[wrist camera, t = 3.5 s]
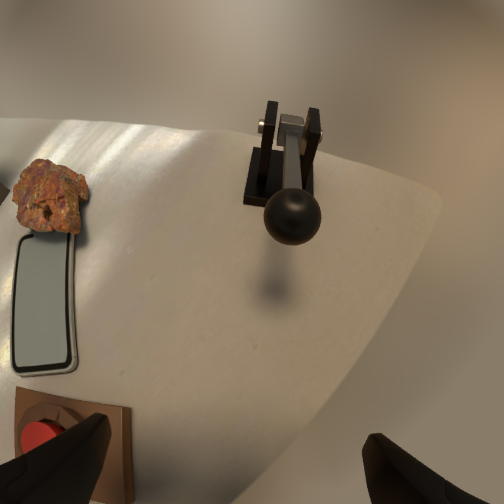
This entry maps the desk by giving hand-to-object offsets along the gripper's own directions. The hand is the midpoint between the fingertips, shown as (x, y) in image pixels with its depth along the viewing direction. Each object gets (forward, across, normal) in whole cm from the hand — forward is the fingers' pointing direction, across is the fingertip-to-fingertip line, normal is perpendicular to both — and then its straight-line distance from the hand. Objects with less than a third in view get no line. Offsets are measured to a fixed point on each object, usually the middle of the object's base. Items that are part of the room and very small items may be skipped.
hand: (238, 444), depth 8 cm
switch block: (+7, +12, +12) cm, 18 cm away
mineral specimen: (+22, +21, -4) cm, 31 cm away
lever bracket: (+27, -3, -9) cm, 28 cm away
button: (+4, +12, +9) cm, 16 cm away
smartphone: (+15, +19, +3) cm, 25 cm away
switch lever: (+17, -3, -9) cm, 19 cm away
